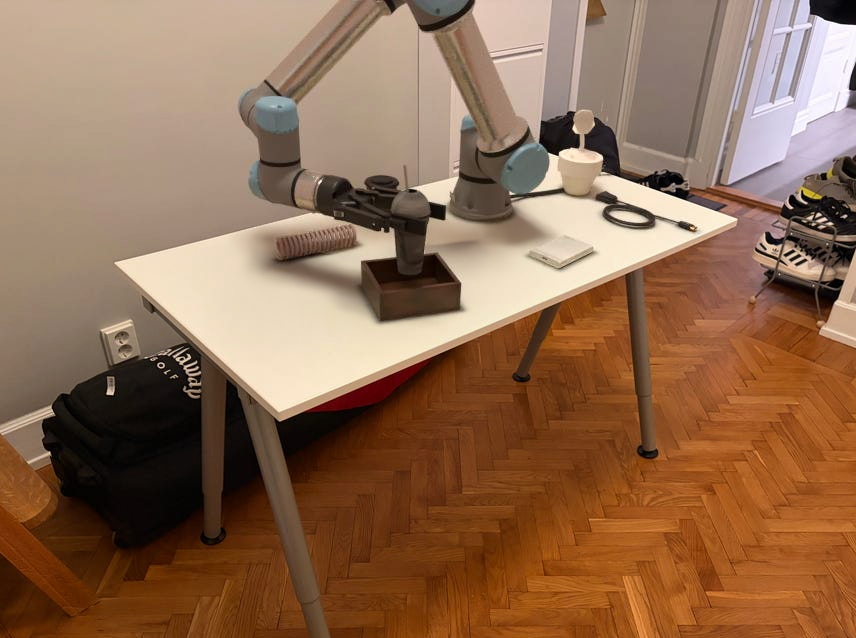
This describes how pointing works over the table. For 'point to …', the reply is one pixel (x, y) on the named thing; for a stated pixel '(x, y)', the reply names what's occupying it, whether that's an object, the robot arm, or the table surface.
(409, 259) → the beverage cup
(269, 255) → the table surface
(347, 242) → the coil
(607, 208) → the cable
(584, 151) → the potted plant
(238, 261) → the table surface
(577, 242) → the hard drive
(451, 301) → the box
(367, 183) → the coffee cup
